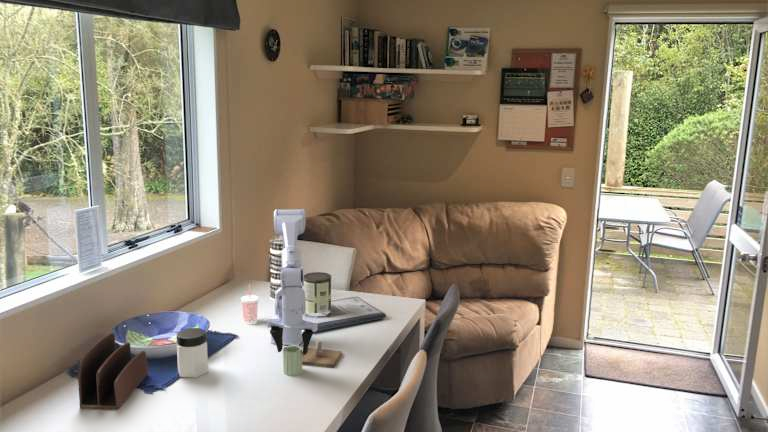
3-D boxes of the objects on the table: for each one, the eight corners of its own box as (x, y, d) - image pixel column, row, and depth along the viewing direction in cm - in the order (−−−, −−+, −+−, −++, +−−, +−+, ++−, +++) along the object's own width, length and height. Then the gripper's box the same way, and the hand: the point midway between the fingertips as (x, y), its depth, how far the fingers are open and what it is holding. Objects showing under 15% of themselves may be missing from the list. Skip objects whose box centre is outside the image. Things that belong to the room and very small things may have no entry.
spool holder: (295, 363, 187) (294, 346, 186) (305, 350, 197) (305, 333, 195) (333, 367, 185) (333, 350, 184) (341, 354, 194) (342, 337, 193)
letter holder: (79, 409, 159) (75, 358, 156) (114, 374, 178) (110, 327, 175) (117, 410, 158) (114, 359, 156) (148, 375, 178) (145, 329, 175)
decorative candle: (291, 302, 239) (290, 240, 234) (267, 302, 239) (266, 239, 234) (294, 295, 248) (294, 234, 242) (271, 294, 248) (270, 233, 243)
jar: (210, 375, 178) (208, 336, 176) (180, 380, 175) (178, 341, 172) (204, 363, 186) (203, 325, 183) (176, 367, 182) (174, 329, 180)
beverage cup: (237, 323, 217) (236, 285, 214) (248, 317, 222) (247, 280, 220) (252, 326, 215) (251, 288, 212) (262, 320, 220) (261, 283, 217)
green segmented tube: (280, 374, 180) (280, 351, 178) (287, 366, 185) (286, 344, 184) (298, 376, 179) (298, 353, 177) (304, 368, 184) (304, 346, 183)
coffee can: (315, 305, 236) (315, 270, 233) (336, 311, 231) (337, 275, 228) (297, 313, 228) (297, 276, 225) (319, 319, 222) (319, 282, 220)
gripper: (263, 310, 175) (264, 355, 178) (312, 314, 173) (312, 360, 175) (272, 302, 182) (272, 345, 185) (319, 306, 180) (319, 350, 182)
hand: (292, 352), depth 181 cm, fingers open, 7 cm apart
